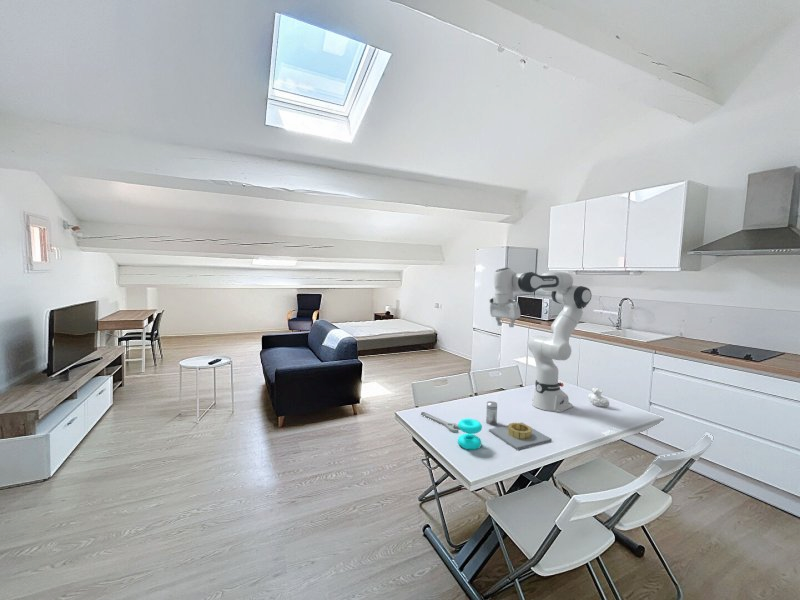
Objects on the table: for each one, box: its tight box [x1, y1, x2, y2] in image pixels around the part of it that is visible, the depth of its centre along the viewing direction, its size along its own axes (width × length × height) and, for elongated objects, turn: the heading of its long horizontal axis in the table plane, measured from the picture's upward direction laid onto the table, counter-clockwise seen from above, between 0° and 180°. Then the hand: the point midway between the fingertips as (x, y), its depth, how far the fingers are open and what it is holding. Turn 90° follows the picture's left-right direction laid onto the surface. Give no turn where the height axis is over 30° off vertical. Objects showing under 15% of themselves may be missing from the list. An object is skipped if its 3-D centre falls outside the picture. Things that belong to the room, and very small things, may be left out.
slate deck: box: [488, 422, 553, 451], centre depth 151 cm, size 20×18×1 cm
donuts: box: [457, 418, 483, 451], centre depth 143 cm, size 10×10×10 cm
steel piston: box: [485, 401, 498, 426], centre depth 164 cm, size 5×5×10 cm
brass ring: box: [508, 422, 532, 439], centre depth 151 cm, size 10×10×3 cm
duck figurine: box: [588, 387, 610, 408], centre depth 189 cm, size 12×8×11 cm
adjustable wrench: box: [420, 411, 460, 433], centre depth 165 cm, size 25×6×2 cm, turn 36°
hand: (505, 326), depth 171 cm, fingers open, 8 cm apart
